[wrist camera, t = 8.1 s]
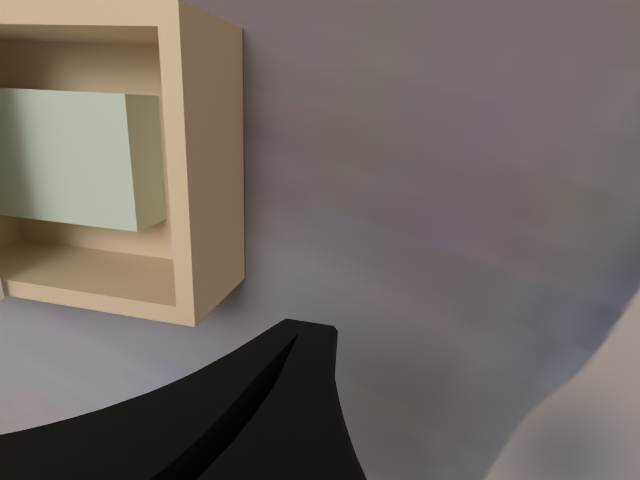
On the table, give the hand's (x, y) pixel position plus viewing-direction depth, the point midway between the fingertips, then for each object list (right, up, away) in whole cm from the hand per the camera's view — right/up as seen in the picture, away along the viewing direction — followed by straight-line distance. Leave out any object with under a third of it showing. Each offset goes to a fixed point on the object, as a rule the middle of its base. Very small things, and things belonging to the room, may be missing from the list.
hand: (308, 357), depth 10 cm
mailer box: (-10, +7, +11) cm, 17 cm away
